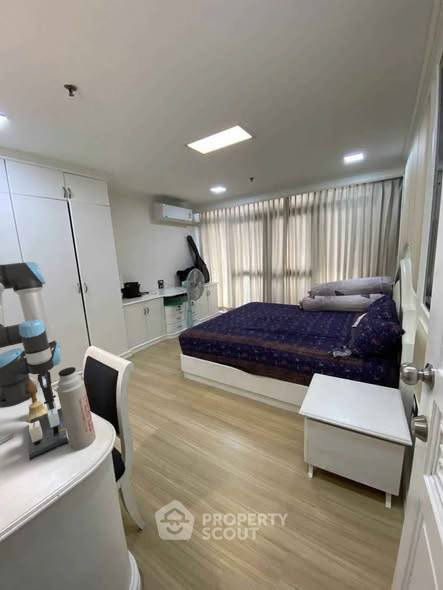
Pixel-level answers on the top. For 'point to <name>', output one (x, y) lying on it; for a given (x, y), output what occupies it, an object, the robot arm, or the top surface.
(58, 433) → the console
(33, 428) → the fader
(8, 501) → the top surface
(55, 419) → the fader
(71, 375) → the thermos bottle
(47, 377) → the robot arm
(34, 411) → the hand bell
